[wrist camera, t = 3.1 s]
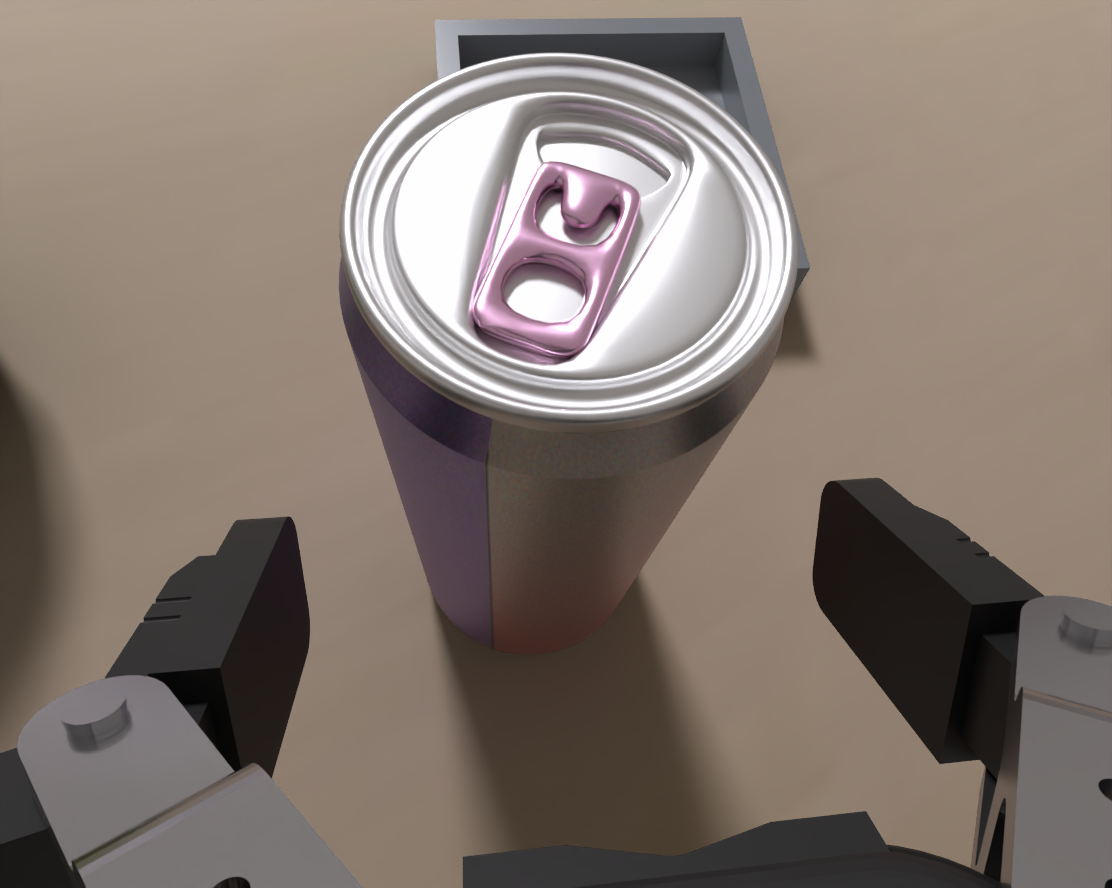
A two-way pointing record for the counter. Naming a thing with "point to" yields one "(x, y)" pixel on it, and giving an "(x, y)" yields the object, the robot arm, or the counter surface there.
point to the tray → (634, 61)
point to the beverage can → (557, 324)
